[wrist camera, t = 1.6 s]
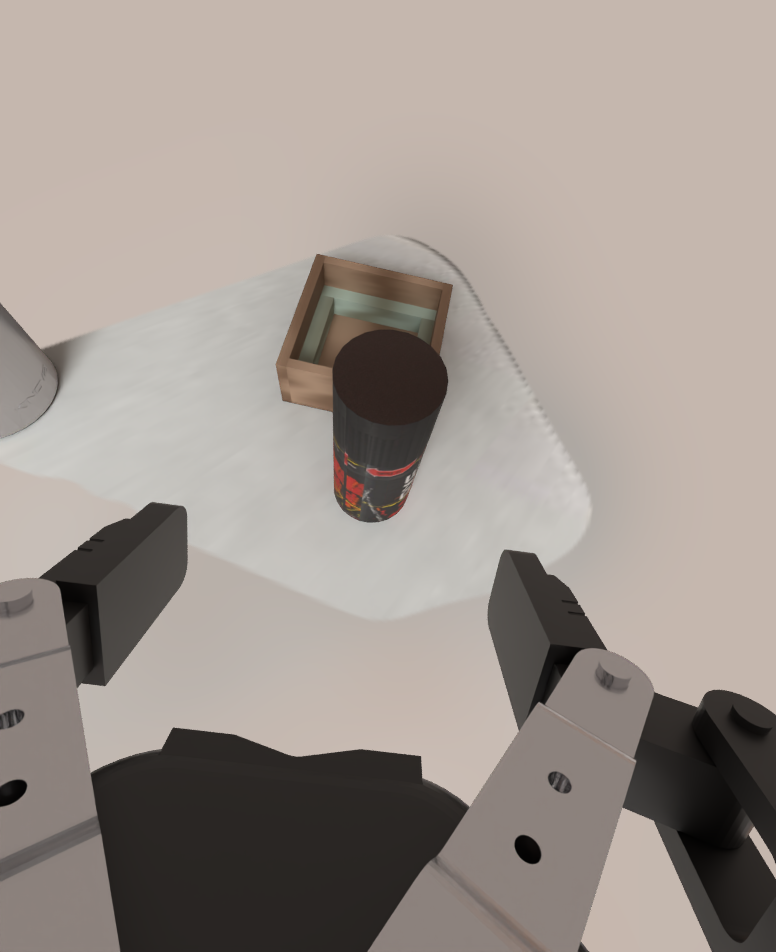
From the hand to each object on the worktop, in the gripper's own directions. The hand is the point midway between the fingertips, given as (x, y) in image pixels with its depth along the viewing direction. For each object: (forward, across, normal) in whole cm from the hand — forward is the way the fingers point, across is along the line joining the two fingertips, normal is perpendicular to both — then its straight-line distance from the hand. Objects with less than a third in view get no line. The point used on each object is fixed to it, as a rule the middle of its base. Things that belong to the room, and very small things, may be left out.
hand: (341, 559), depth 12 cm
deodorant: (+25, -1, +8) cm, 26 cm away
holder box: (+33, +1, -1) cm, 33 cm away
